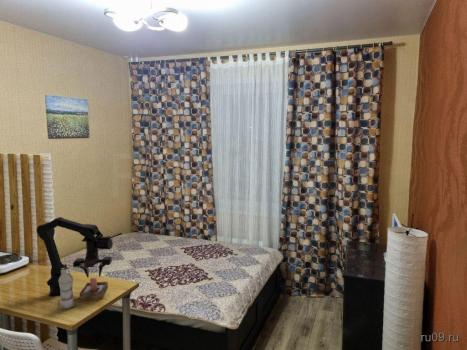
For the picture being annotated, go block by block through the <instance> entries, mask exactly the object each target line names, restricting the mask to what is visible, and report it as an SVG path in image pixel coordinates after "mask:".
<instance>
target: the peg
mask: <svg viewBox="0 0 467 350" xmlns="http://www.w3.org/2000/svg"><path fill="white" fill-rule="evenodd" d="M89 281H90V282H89V283H91V292H97V282H98V279H97V276H93V277H91V278H89Z"/></svg>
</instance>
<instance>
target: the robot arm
mask: <svg viewBox="0 0 467 350" xmlns="http://www.w3.org/2000/svg"><path fill="white" fill-rule="evenodd" d="M57 227H59V228H63V229H67V230H70V231H73V232H76V233H78V234H79V235H80V236H82V237H83V239H82V240H81V242H82V243H83V242H85V247H86V254H85V257H81V258H80V257H79V258H76V259H75V260H74V261H73V262H72V263H73V264H72V265H73V266H72V267H73V268H79V269H82V270H83V272H84V273H85V276H86V277H87V278H89V277H90V271H89V270H90V269H89V268H94V267H95V265H98V264H99V265H98V277H99V278H100V277H101V275H102V271H103V269H104V267H105V266H110V265H111V264H112V262H113V257H112V256H104V257H103V258H101V259H100V256H99V250H112V248H113V244H114V243H113V239H112V237H111V236H109V235H108V236H104V235H103V233H102V231H100V230H99V227H98V225H96V224H91V223H87V224H85V223H80V222H77V221H74V220H70V219H67V218H64V217H61V216H58V217H56V218H54V219H53V220H51V221H48V222H45V223H43V224H40V225H38V226H37V228H36V233H37V236H38V237H39V238H40V239H41V240H42V241H43V243H44V246H45V249H46V252H47V256H48V259H49V262H50V266H51V267H50V278H49V279H48V280H47V281H46V284H47V286H49V294H48V296H49V297H58V296H59V297H60V295H61V293H60V286H59V281H58V280H59V278H60V276H61V275H62V274H61V269H63V268H68V264H63V263H62V260H61V257H60V254H59V251H58V248H57V244H56V241H55V233H56V232H55V231H56V230H55V229H56V228H57Z"/></svg>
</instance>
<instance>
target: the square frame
mask: <svg viewBox="0 0 467 350" xmlns="http://www.w3.org/2000/svg"><path fill="white" fill-rule="evenodd" d="M108 284H109V283H108V281H97V292H91V283H90V282H86V284H85V285H84V287H83V288H82V289H81V290H80V292H79V301H95V300H96V301H97V300H103V299H104V296H105V294H106V293H107V291H108V288H109V287H108V286H109V285H108Z"/></svg>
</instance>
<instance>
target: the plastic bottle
mask: <svg viewBox="0 0 467 350" xmlns="http://www.w3.org/2000/svg"><path fill="white" fill-rule="evenodd" d="M61 274H62V275H61V276H60V278H59V280H58V281H59V286H60V293H61V295H60V296H59V297H60V299H59V307H60V308H61V309H63V310H68V309H71V308H73V307H74V305H75V298H74V292H73V284H74V277H73V275H72V274H71V273H70V268H69V267H67V268H63V269H61Z"/></svg>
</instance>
